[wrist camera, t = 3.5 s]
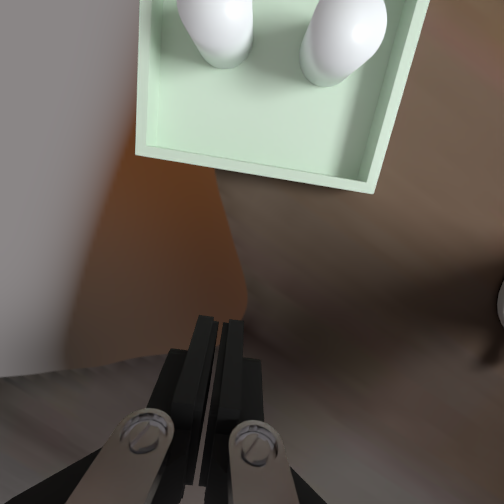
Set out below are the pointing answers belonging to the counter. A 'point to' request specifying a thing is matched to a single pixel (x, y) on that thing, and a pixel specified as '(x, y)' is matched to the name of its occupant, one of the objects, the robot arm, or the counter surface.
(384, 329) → the counter surface
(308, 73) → the grey rounded piece
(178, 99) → the tray
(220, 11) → the white egg
